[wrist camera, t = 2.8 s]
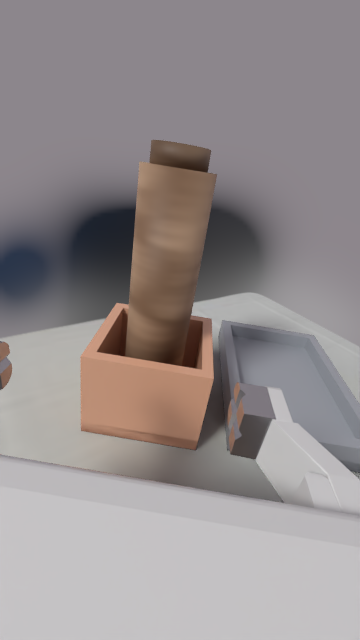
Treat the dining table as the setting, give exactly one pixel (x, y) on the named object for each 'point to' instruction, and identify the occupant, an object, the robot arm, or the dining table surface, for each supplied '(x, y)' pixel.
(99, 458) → the dining table surface
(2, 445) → the dining table surface
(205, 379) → the orange open box
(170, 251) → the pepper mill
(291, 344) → the tray
